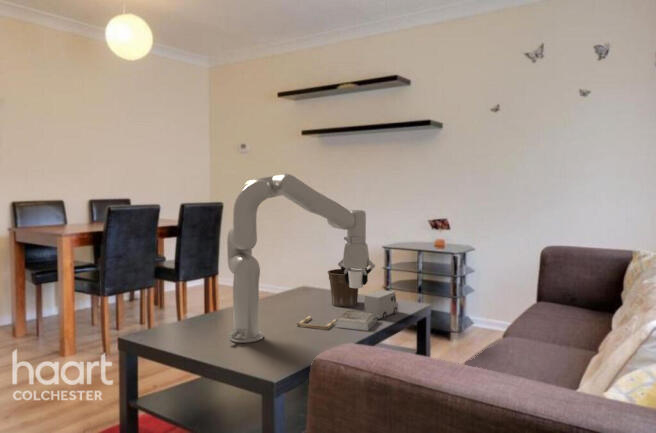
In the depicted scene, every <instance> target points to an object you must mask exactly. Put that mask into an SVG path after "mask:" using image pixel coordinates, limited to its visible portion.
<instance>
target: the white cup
mask: <svg viewBox="0 0 656 433" xmlns="http://www.w3.org/2000/svg"><path fill="white" fill-rule="evenodd" d="M363 275H364V273H363V271H362V269H355V268H350V269H349V270H348V276H349V287H350V288H358V289H362V288H364V285H363Z"/></svg>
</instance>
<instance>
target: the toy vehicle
mask: <svg viewBox="0 0 656 433" xmlns="http://www.w3.org/2000/svg"><path fill="white" fill-rule="evenodd" d="M398 310H399V302H397V295H396V291H391V290H387V289H386V290H384V289H379V290H377V291H376V290H375V291H373V292H370V293H366V294H365V295H364V312H365V313H374V316H377V320H381V319H386V318H387V316H389V315H391V314H394V315H395V314H397V312H398Z"/></svg>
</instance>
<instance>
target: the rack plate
mask: <svg viewBox="0 0 656 433" xmlns="http://www.w3.org/2000/svg"><path fill="white" fill-rule="evenodd" d="M336 319H337V320H335V324H334V328H339V329H348V330H357V331H366V332H369V331H370V329H372V327H374V326H375V325H376V324H377V322H378V319H377V316H374V313H365V311H364V312H362V311H353V310H352V311H351V310H347V311H345V312H343V314H341V315H340V316H338V318H336Z"/></svg>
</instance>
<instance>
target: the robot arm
mask: <svg viewBox="0 0 656 433" xmlns="http://www.w3.org/2000/svg"><path fill="white" fill-rule="evenodd" d="M279 196H283V197H285V198H286V199H287V200H289V201H291V202H292V203H294V204H296V205H297V206H299V207H300V208H302V209H303V210H304V211H306V212H309V213H312V214H314V215H318V216H320V217H322V218H324V219H326V221H327V224H328V225H329V226H330V227H332V228H334V229H339V230H345V231H346V232H347V234H346V236H344V237H343V240H344V241H346V243H344V249H343V255H342V256H343V257H342V259H341V260H340V261H339V262H338V263H337V265H338V267H339V269H342V271H343V272H344V274H345V281H346V283H349V276H348V270H349V269H362V271H363V273H364V275H363V286H365V285H367V283H368V280H369V278H368V276H369V273H371V272H372V271H373V269H374V268H376V264H374V263H373V262H372V261H371V260H370V255H369V254H370V253H369V247H368V243H366V240H367V237H366V236H367V235H366V233H367V232H366V230H367V229H366V228H367V225H366V224H367V223H366V222H367V213H366V211H365V210H362V209H351V210H349V209H348V208H347V207H344V206H343V205H341V204H340V203H338V202H337V201H335V200H333V199H331V198H329V197H328V196H326V195H324V194H323V193H320V192H319V191H317V190H315V189H314V188H312V187H311V186H309V185H308V184H307V183H305V182H303V181H302V180H301V179H298V177H296V176H294V175H292V174H290V173H279V174H276V175H270V176H266V177H260V178H255V179H249V180H247V181H246V182H245V183H244V184H243V186H242V189H241V191H240V192H239V194H238V195H237V197H236V199H235V201H234V205H233V217H232V218H233V220H232V226H231V228H230V229H229V231H228V233H227V240H226V241H227V266H228V268H229V270H230V272H231V273H232V274H233V281H232V282H233V284H232V301H233V302H232V304H233V307H232V308H233V313H232V314H233V316H232V318H233V321H232V322H233V328H232V332H231V333H229V334H228V335H227V339H228V340H230V341H231V342H235V343H238V344H239V343H241V344H243V343H245V344H247V343H255V342H258V341H260V340H263V338H264V333H263V331H260V296H259V295H260V293H259V292H260V291H259V290H260V276H261V267H260V263H259V261H258V260H257V258H256V257H254V256H253V255H252V254H253V249H254V248H255V246H256V245H257V242H258V233H257V214H258V209H259V206H260V205H261V204H262V202H264V201H266V200H267V199H272V198H277V197H279ZM368 267H369V268H368Z"/></svg>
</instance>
